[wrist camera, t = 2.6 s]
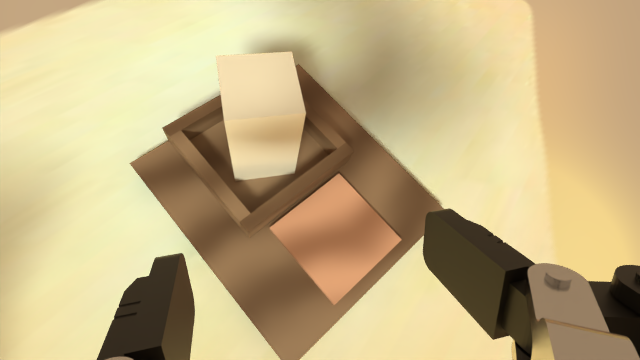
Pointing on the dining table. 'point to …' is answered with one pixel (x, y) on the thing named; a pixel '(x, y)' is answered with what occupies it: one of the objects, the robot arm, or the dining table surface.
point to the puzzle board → (290, 216)
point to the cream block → (261, 113)
